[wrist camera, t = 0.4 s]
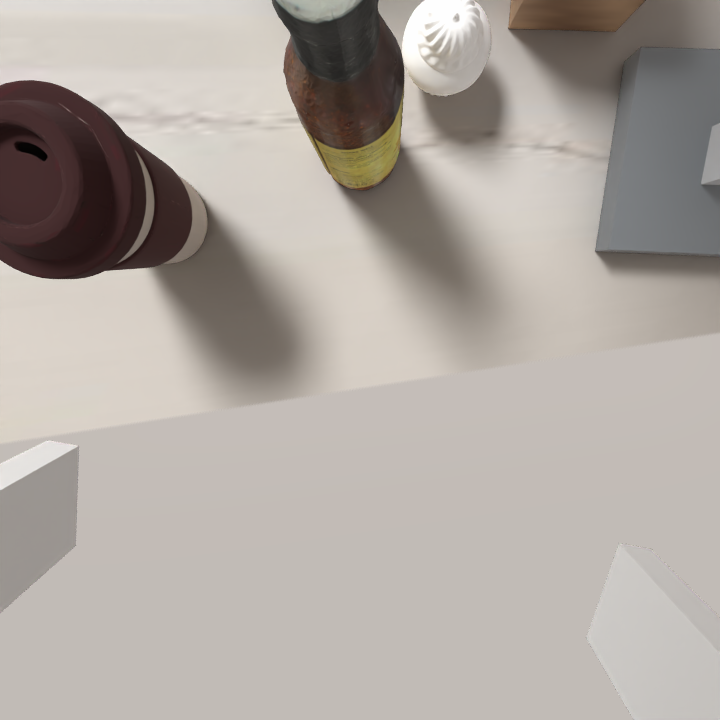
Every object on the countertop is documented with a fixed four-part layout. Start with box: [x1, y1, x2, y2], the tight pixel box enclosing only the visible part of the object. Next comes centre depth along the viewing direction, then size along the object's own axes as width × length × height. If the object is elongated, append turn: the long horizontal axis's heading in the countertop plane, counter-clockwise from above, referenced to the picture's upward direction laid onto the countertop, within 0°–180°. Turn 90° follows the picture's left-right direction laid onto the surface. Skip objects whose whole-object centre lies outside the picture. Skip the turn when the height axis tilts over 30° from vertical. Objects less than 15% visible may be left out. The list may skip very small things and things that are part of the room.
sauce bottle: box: [272, 0, 404, 190], centre depth 23 cm, size 7×6×20 cm
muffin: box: [402, 0, 491, 97], centre depth 28 cm, size 6×6×7 cm
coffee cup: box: [0, 80, 207, 279], centre depth 27 cm, size 10×10×15 cm
